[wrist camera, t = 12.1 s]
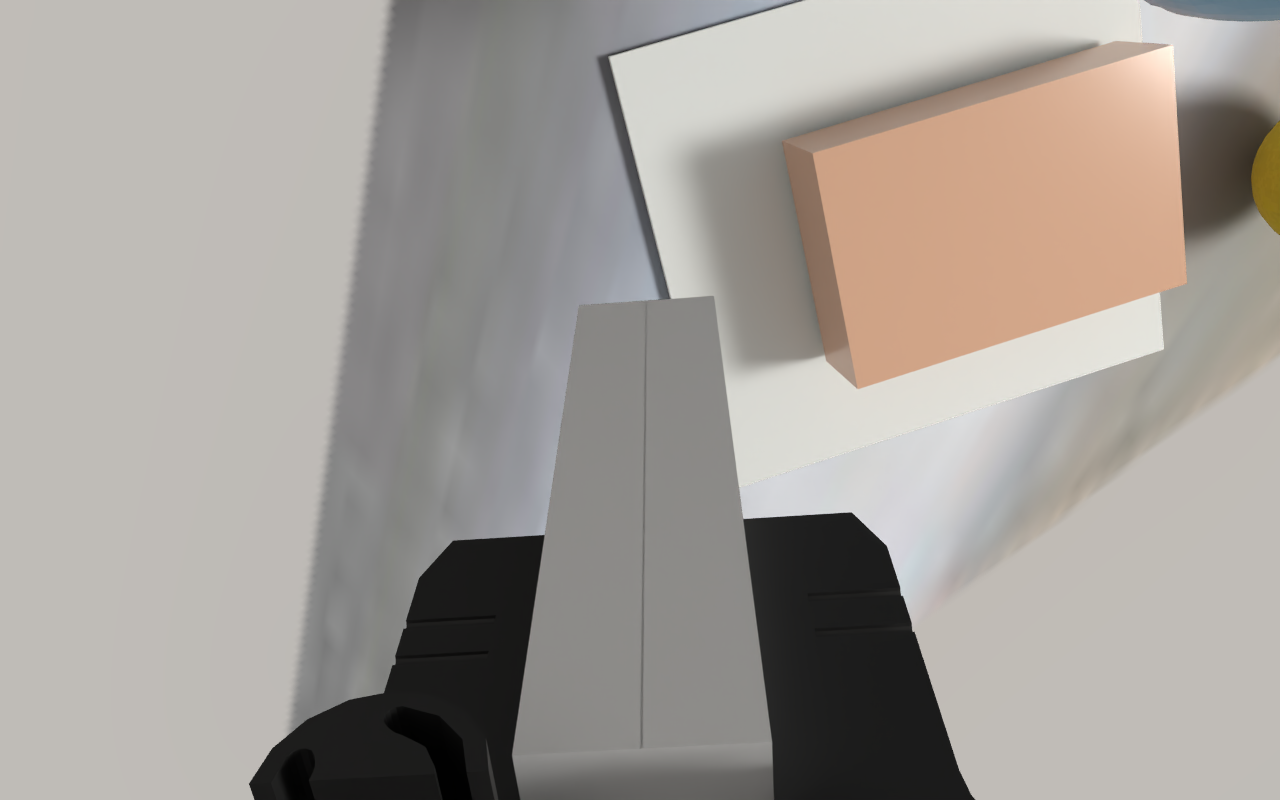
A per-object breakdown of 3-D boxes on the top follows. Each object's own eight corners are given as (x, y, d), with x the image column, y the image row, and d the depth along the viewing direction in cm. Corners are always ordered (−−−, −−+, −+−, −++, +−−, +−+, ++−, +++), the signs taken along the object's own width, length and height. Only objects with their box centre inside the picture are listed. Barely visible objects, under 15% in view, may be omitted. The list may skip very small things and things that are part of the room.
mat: (608, 56, 34) (609, 57, 34) (1127, -94, 36) (1132, -94, 36) (719, 490, 41) (721, 493, 40) (1158, 346, 42) (1163, 349, 42)
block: (812, 153, 33) (1173, 44, 34) (778, 139, 36) (1108, 40, 37) (857, 389, 36) (1186, 283, 37) (822, 357, 39) (1126, 260, 40)
